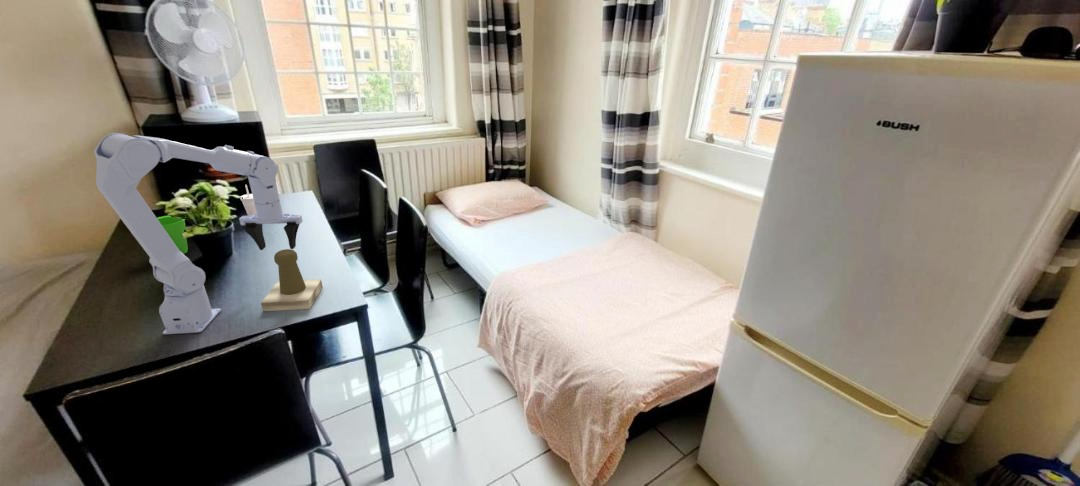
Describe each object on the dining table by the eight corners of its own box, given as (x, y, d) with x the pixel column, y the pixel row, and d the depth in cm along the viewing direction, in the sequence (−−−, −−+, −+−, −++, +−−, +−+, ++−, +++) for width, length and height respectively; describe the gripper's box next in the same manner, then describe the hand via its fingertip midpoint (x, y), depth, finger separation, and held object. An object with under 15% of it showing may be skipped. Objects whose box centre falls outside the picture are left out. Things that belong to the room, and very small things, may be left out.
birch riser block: (310, 308, 110) (308, 300, 109) (263, 311, 108) (260, 302, 107) (322, 287, 119) (321, 279, 118) (279, 289, 118) (277, 281, 117)
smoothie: (241, 222, 159) (232, 186, 153) (257, 216, 165) (248, 181, 159) (255, 224, 158) (246, 188, 152) (270, 219, 163) (261, 183, 157)
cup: (158, 251, 135) (147, 218, 131) (194, 244, 141) (184, 213, 136) (159, 261, 129) (147, 228, 125) (196, 254, 135) (186, 221, 130)
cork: (293, 296, 110) (284, 258, 105) (274, 292, 111) (264, 254, 107) (311, 285, 115) (303, 248, 111) (292, 281, 117) (284, 245, 112)
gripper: (302, 195, 117) (311, 241, 122) (243, 196, 114) (255, 242, 120) (292, 204, 110) (302, 251, 116) (230, 205, 108) (244, 253, 113)
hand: (278, 248), depth 117 cm, fingers open, 7 cm apart
